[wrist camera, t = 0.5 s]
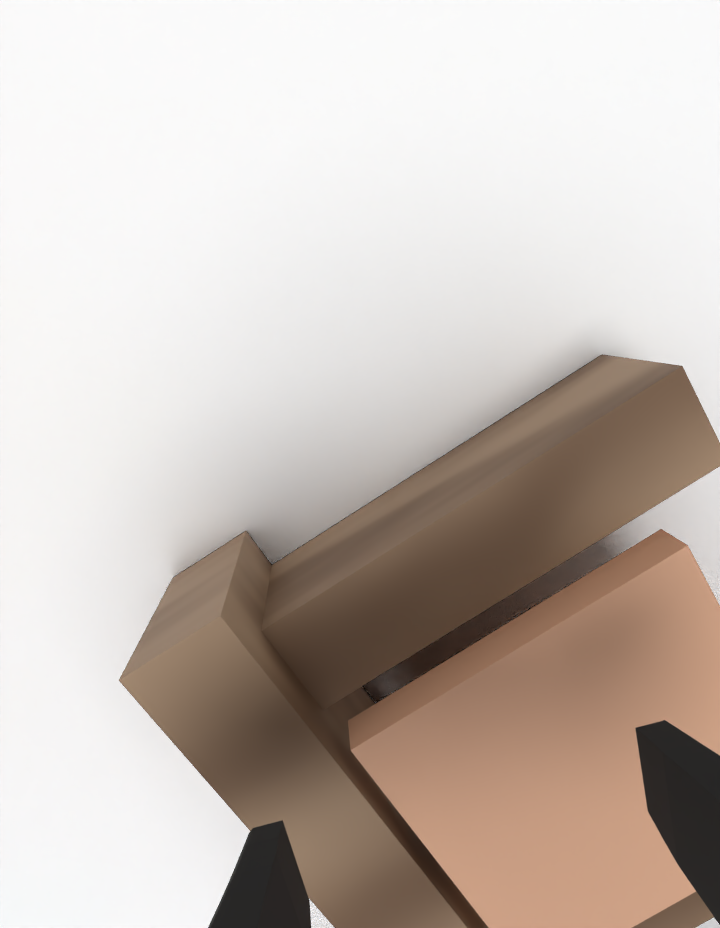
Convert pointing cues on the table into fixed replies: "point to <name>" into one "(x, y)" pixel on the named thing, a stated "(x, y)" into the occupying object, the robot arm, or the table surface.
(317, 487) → the table surface
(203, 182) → the table surface
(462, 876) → the trapdoor
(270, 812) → the frame
